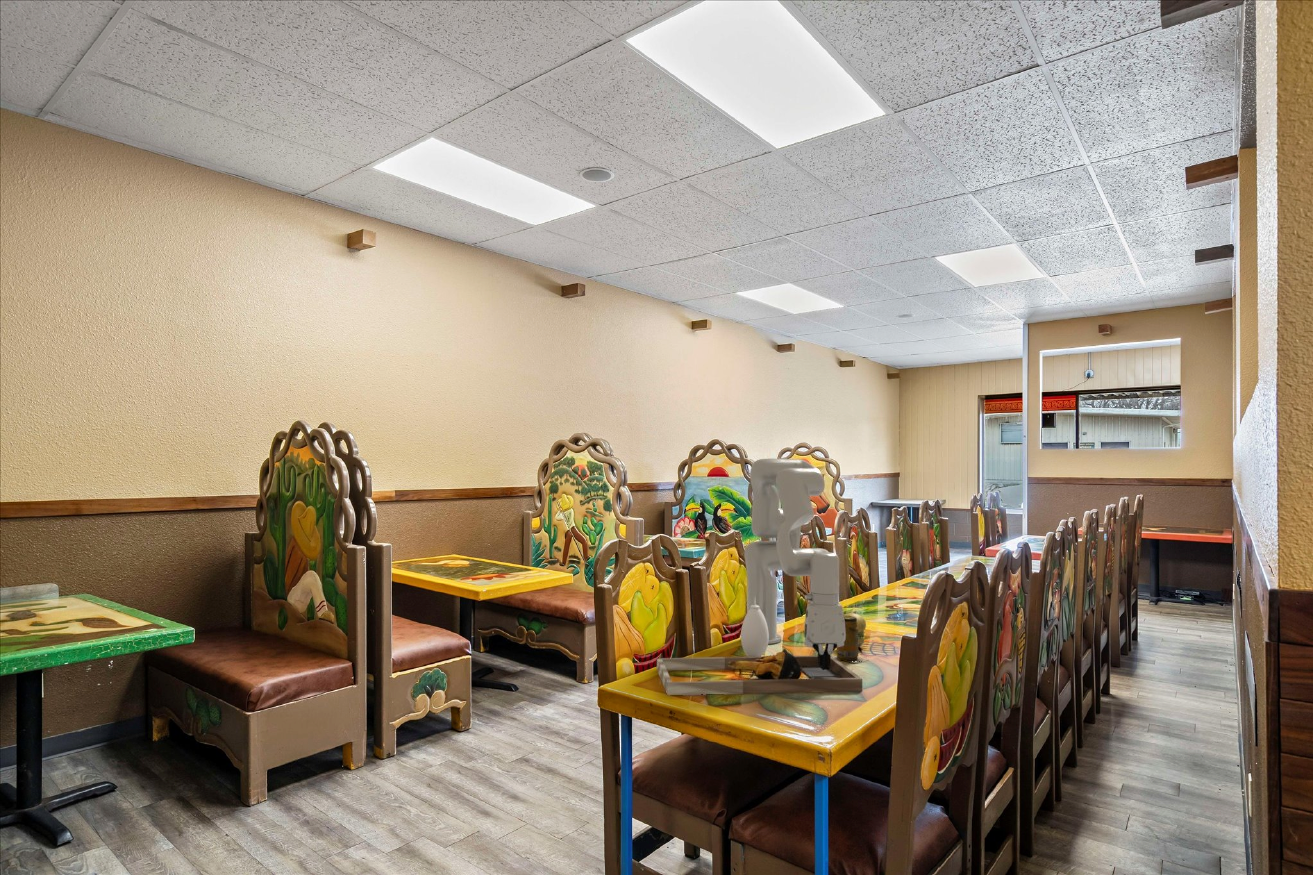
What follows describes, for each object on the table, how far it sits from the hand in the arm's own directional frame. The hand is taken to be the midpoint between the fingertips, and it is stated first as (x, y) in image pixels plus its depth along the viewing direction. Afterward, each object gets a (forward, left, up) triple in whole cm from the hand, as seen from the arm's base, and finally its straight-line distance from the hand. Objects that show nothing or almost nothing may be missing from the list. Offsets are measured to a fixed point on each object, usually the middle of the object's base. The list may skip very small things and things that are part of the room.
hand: (824, 668), depth 191 cm
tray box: (0, -19, -3) cm, 19 cm away
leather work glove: (0, -16, -3) cm, 16 cm away
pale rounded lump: (-30, +20, -3) cm, 36 cm away
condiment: (-18, +14, -3) cm, 23 cm away
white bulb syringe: (-20, -14, -3) cm, 24 cm away
